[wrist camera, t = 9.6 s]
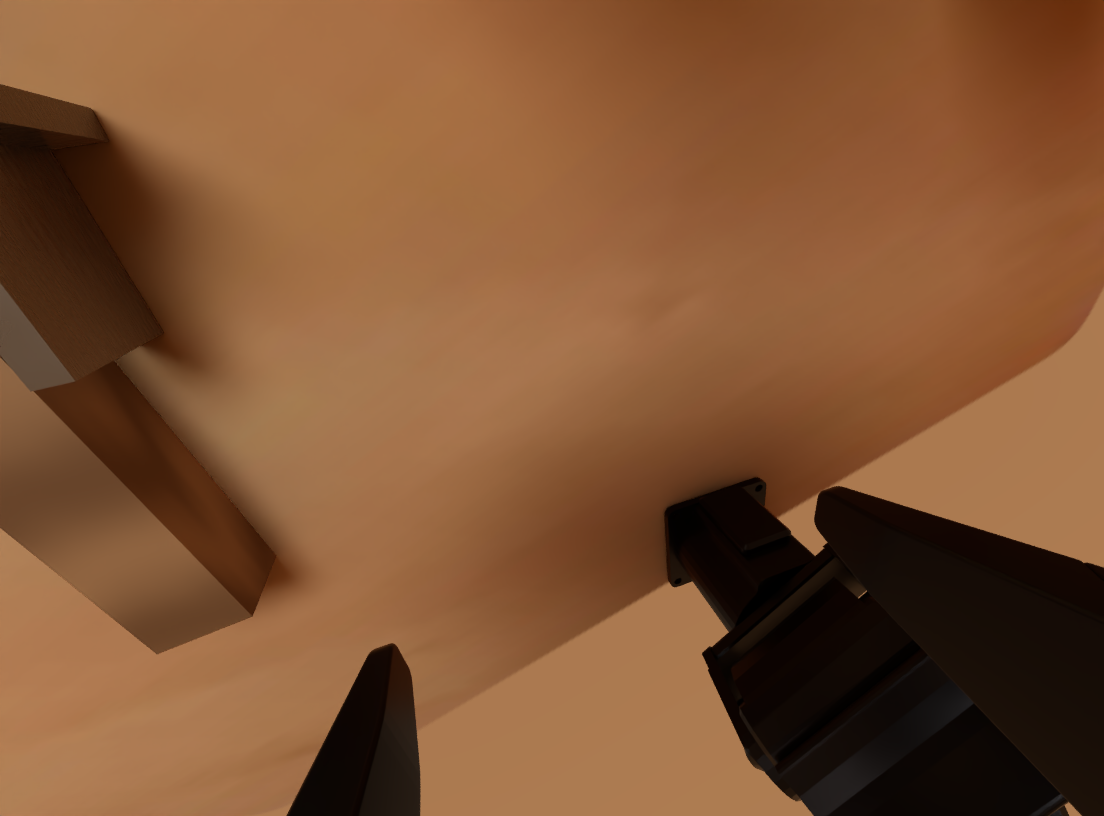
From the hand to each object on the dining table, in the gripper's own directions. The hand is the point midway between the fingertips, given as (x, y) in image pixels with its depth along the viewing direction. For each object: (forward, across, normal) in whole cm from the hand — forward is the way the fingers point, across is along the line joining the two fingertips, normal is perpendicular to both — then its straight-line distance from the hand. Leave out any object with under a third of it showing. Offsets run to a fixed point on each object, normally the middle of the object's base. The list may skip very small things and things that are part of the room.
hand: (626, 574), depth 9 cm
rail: (+12, +15, -1) cm, 19 cm away
